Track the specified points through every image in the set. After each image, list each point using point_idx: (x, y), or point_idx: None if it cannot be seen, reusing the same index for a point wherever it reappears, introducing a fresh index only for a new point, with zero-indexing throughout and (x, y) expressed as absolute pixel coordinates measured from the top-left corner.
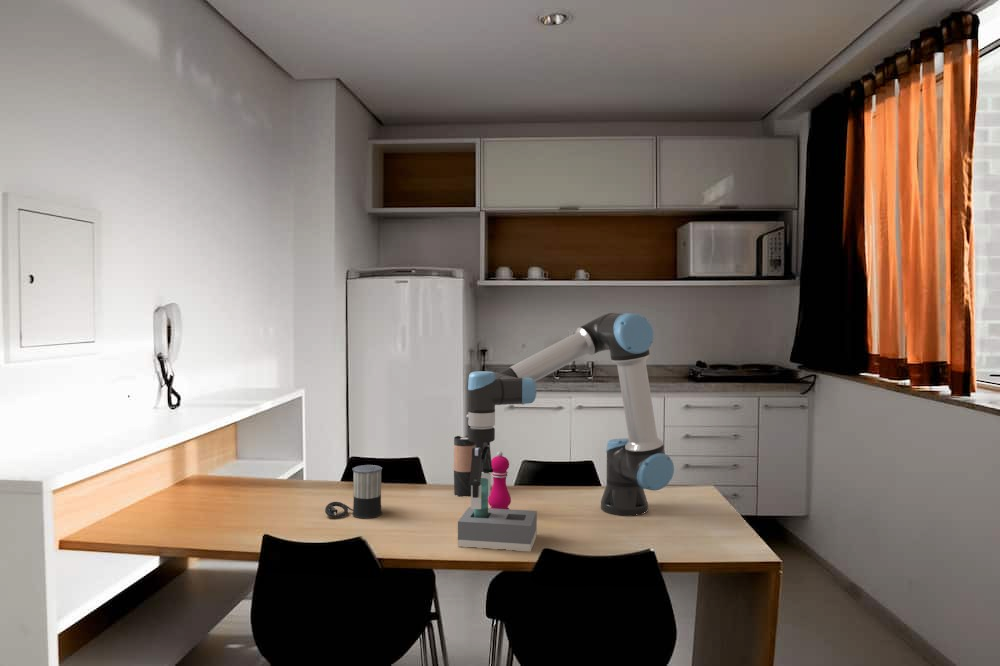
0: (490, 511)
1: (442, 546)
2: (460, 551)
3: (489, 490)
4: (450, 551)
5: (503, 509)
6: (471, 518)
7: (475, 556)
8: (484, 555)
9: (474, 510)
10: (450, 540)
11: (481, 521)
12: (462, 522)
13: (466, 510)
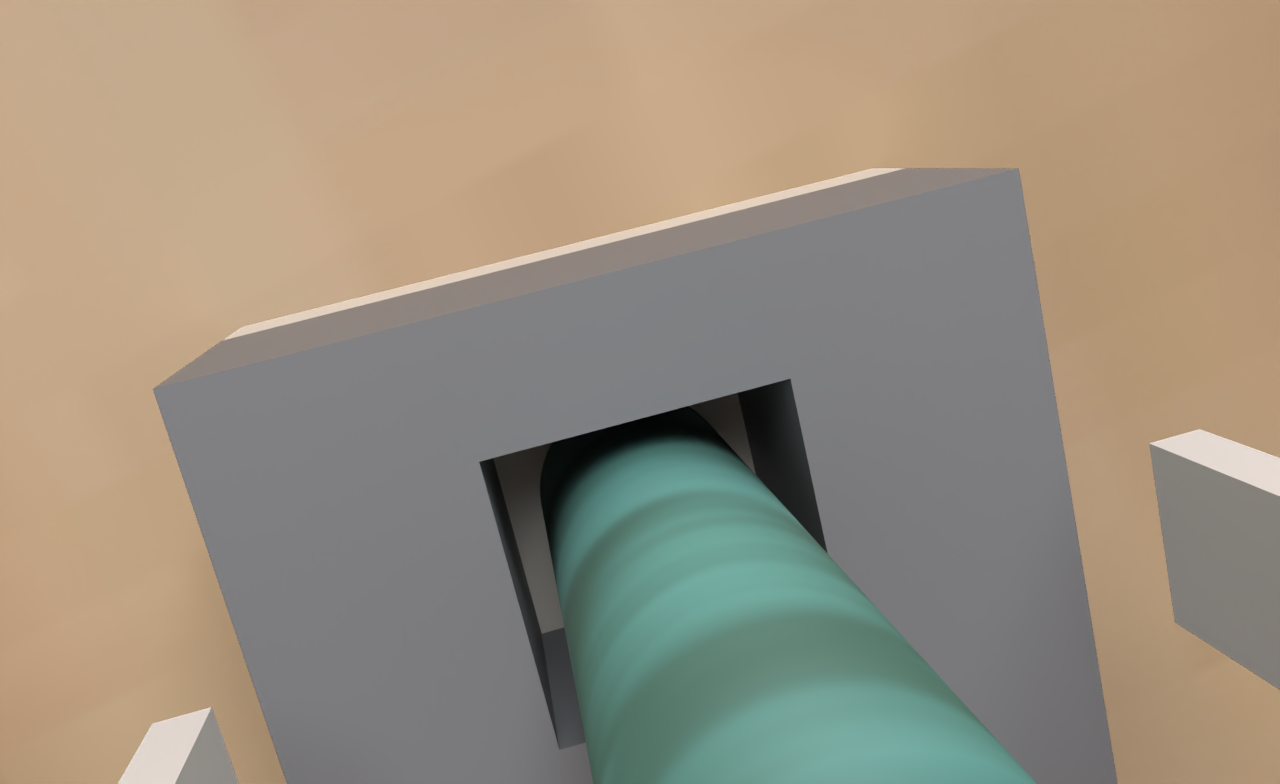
0: (916, 612)
1: (161, 130)
2: (111, 433)
3: (1247, 660)
4: (44, 319)
5: (1085, 741)
6: (425, 518)
7: (47, 672)
8: (134, 746)
9: (594, 522)
10: (426, 118)
11: (354, 735)
12: (181, 466)
13: (816, 223)
